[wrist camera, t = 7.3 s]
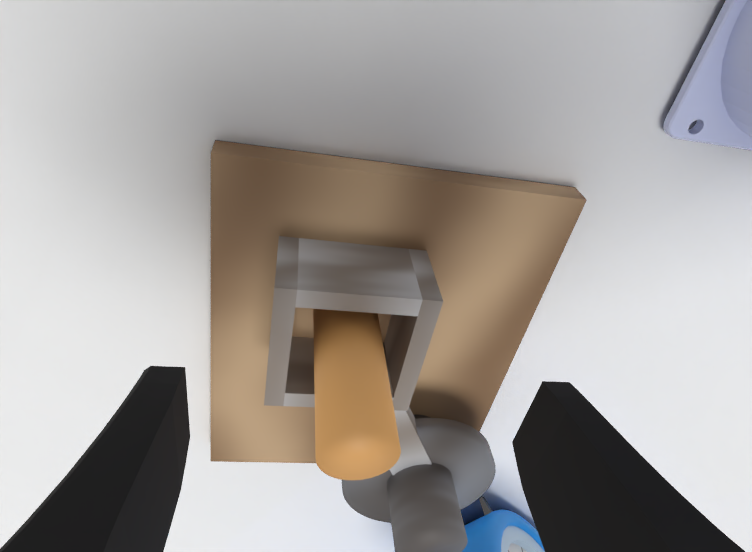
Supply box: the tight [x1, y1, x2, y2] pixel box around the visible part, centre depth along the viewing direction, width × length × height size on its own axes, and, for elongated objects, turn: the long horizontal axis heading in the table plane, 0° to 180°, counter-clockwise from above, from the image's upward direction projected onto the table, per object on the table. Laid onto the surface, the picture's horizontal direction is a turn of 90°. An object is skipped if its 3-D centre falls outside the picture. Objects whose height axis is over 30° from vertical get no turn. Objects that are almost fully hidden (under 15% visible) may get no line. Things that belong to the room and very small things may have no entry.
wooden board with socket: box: [211, 140, 586, 552], centre depth 20 cm, size 13×17×6 cm
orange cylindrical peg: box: [313, 309, 401, 480], centre depth 17 cm, size 2×2×7 cm
